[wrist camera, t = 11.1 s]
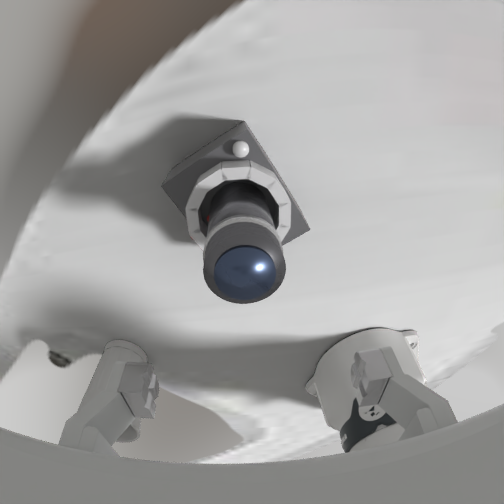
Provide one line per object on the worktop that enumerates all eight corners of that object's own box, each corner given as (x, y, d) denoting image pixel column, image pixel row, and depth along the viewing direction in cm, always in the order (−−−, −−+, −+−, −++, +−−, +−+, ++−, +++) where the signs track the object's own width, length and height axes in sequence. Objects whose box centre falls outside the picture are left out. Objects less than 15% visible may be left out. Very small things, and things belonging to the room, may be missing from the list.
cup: (112, 326, 38) (87, 401, 28) (163, 355, 41) (151, 430, 31) (91, 354, 41) (68, 422, 30) (137, 379, 44) (124, 447, 33)
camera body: (299, 207, 31) (315, 240, 25) (225, 249, 33) (225, 291, 27) (244, 120, 27) (248, 133, 21) (166, 172, 29) (149, 199, 23)
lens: (268, 179, 25) (289, 233, 17) (268, 233, 27) (287, 306, 19) (205, 182, 24) (194, 239, 16) (210, 237, 27) (204, 311, 19)
